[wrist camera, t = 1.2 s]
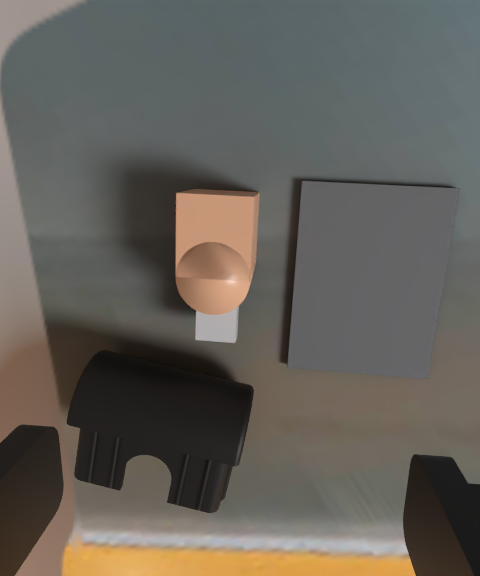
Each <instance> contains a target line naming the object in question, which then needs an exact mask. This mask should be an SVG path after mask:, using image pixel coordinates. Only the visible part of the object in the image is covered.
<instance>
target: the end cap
mask: <svg viewBox="0 0 480 576" xmlns="http://www.w3.org/2000/svg"><path fill="white" fill-rule="evenodd" d="M253 393H254V389H253V387H252V386H251V385H247V384H243V383H239V382H235V381H231V380H227V379H223V378H218V377H214V376H210V375H206V374H202V373H198V372H194V371H189V370H185V369H181V368H177V367H173V366H169V365H165V364H161V363H156V362H152V361H148V360H144V359H140V358H136V357H132V356H127V355H123V354H119V353H115V352H111V351H107V350H103V351H100V352H98V353H97V354H95V355H94V356H93V358H92V359H91V360H90V361H89V363H88V364H87V366H86V367H85V369H84V371H83V373H82V375H81V377H80V379H79V381H78V383H77V386H76V389H75V391H74V394H73V397H72V400H71V404H70V408H69V412H68V417H67V424H68V425H70V426H74V427H78V428H80V434H79V442H78V449H77V457H76V464H75V472H74V476H75V477H76V478H77V479H78V480H80V481H84V482H88V483H92V484H96V485H100V486H104V487H108V488H112V489H116V490H120V489H121V487H122V485H123V480H124V474H125V468H126V463H127V462H128V461H129V460H130V459H131V458H133V457H135V456H138V455H151V456H154V457H157V458H158V459H160V460H162V461H163V462H164V463H165V464H166V465H167V467H168V468H169V470H170V472H171V477H172V480H171V486H170V491H169V496H168V501H167V503H171V504H175V505H179V506H183V507H187V508H191V509H195V510H199V511H203V512H207V513H213V512H216V511H217V510H218V508H219V505H220V501H221V500H223V499H224V498H225V495H226V491H227V487H228V483H229V479H230V475H231V471H232V467H233V466H238V465H239V462H240V458H241V454H242V450H243V446H244V441H245V437H246V432H247V427H248V422H249V417H250V412H251V407H252V401H253Z"/></svg>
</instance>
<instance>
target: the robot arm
mask: <svg viewBox="0 0 480 576" xmlns="http://www.w3.org/2000/svg"><path fill="white" fill-rule="evenodd" d="M62 494H63V474H62V464H61V454H60V444H59V435H58V431H57V430H56V429H55V428H54V427H47V426H35V425H34V426H33V425H20V426H18V427H17V428H16V429H14V431H12V432H11V433H10V434H9V435H8V436H7V437H6V438H5V439H4V440H3V441H2V442H1V443H0V576H15V574H16V573H17V571H18V570H19V568H20V567H21V565H22V564H23V562H24V561H25V559H26V558H27V556H28V555H29V553H30V552H31V550H32V548H33V547H34V546H35V544H36V543H37V541H38V540H39V538H40V537H41V535H42V533H43V532H44V531H45V529H46V527H47V526H48V524H49V523H50V521H51V520H52V518H53V517H54V515H55V514H56V512H57V510H58V508H59V505H60V502H61V499H62ZM403 528H404V537H405V542H406V546H407V550H408V553H409V556H410V559H411V562H412V565H413V568H414V571H415V574H416V576H480V484H468V483H467V481H466V479H465V478H464V476H463V474H462V473H461V471H460V469H459V467H458V466H457V464H456V462H455V461H454V459H453V458H451V457H444V456H430V455H417V454H415V455H413V457H412V459H411V463H410V470H409V477H408V485H407V492H406V499H405V506H404V514H403Z"/></svg>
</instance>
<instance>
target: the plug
mask: <svg viewBox="0 0 480 576" xmlns="http://www.w3.org/2000/svg"><path fill="white" fill-rule="evenodd" d="M259 194H260V192H247V191H227V190H208V189H192V190H187V191H183V192H178V193H176V285H177V288H178V291H179V293H180V295H181V297H182V298H183V300H184V301H185V302H186V303H187V304H188V305H189V306H190V307H191V308H193V309H194V310H196V340H203V341H216V342H229V343H235V342H236V339H237V331H238V310H239V305H240V304H241V303H242V302H243V300H244V299H245V297H246V295H247V293H248V290H249V287H250V283H251V280H252V276H253V273H254V269H255V264H256V248H257V230H258V212H259Z"/></svg>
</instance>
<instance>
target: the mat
mask: <svg viewBox="0 0 480 576" xmlns="http://www.w3.org/2000/svg"><path fill="white" fill-rule="evenodd" d="M459 192H460V189H459V188H442V187H421V186H401V185H380V184H359V183H339V182H318V181H302V186H301V198H300V211H299V224H298V236H297V249H296V261H295V274H294V287H293V299H292V312H291V325H290V337H289V350H288V362H287V368H297V369H309V370H322V371H334V372H346V373H358V374H370V375H383V376H395V377H407V378H419V379H428V374H429V368H430V362H431V356H432V350H433V345H434V339H435V333H436V327H437V321H438V315H439V309H440V304H441V298H442V292H443V286H444V280H445V274H446V268H447V262H448V257H449V251H450V245H451V239H452V233H453V227H454V221H455V215H456V210H457V204H458V198H459Z"/></svg>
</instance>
